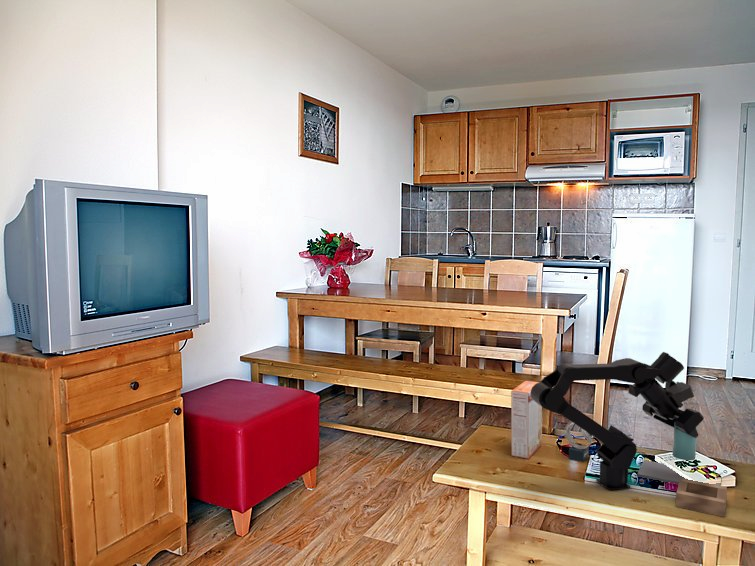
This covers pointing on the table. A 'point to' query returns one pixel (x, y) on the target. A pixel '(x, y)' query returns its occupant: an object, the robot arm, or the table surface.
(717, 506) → the walnut frame
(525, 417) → the cracker box
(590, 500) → the table surface
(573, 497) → the table surface
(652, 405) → the robot arm
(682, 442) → the teal jar
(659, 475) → the gray rectangular panel
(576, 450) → the watch
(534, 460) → the table surface
